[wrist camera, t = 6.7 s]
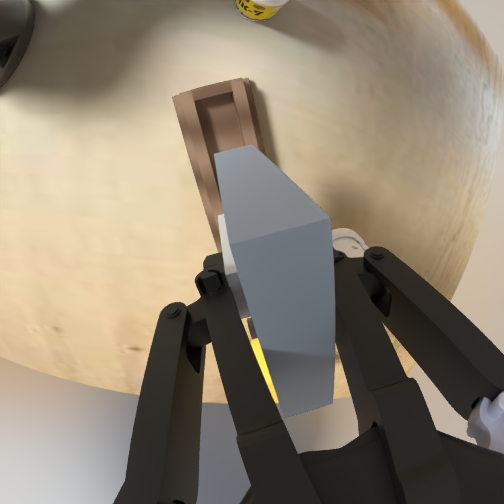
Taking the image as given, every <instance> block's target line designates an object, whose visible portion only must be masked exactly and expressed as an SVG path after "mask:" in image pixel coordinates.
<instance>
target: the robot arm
mask: <svg viewBox="0 0 504 504" xmlns="http://www.w3.org/2000/svg"><path fill="white" fill-rule="evenodd" d="M33 26H34V8H33V5H32V3H31V2H30V1H29V0H0V87H1V86H2V85H3V84H4V83H5V82H6V81H7V80H8V78H9V77H10V76H11V75H12V73H13V72H14V70H15V69H16V67H17V65H18V64H19V62H20V60H21V58H22V57H23V55H24V52H25V50H26V48H27V46H28V43H29V40H30V37H31V34H32V30H33ZM218 222H219V230H220V238H221V246H222V252H220V253H216V254H213V255H209V256H207V257H206V258H205V260H204V262H203V268H204V270H203V271H201V272H200V273H199V274H198V275H197V276H196V278H195V284H196V286H197V288H198V291H199V293H200V295H201V297H200V299H198V300H197V301H196V302H194V303H192V304H190V305H188V306H186V305H185V304H184V303H181V302H174V303H171V304H169V305H167V306H166V307H165V308H164V309H163V310H162V311H161V313H160V315H159V319H158V322H157V326H156V330H155V334H154V337H153V341H152V345H151V349H150V353H149V357H148V361H147V366H146V370H145V374H144V378H143V383H142V387H141V392H140V397H139V402H138V406H137V411H136V417H135V422H134V427H133V433H132V438H131V444H130V451H129V457H128V464H127V471H126V478H125V482H124V484H123V486H122V487H121V489H120V491H119V493H118V495H117V497H116V499H115V501H114V503H113V504H196V501H197V496H198V479H199V450H200V427H201V410H202V394H203V380H204V366H205V354H206V345H207V344H209V343H211V342H212V346H213V350H214V354H215V357H216V361H217V365H218V369H219V372H220V376H221V380H222V383H223V387H224V391H225V394H226V398H227V401H228V404H229V408H230V411H231V414H232V418H233V421H234V424H235V427H236V431H237V444H238V448H239V451H240V454H241V457H242V460H243V463H244V466H245V469H246V472H247V474H248V478H249V480H250V483H251V487H250V488H249V489H248V491H247V493H246V494H245V496H244V498H243V499H242V501H241V503H240V504H504V354H503V353H502V352H501V351H500V350H499V349H498V348H497V347H496V346H495V345H494V344H493V343H492V342H491V341H490V340H489V339H488V338H487V337H486V336H485V335H484V334H483V333H482V332H481V331H480V330H479V329H478V328H477V327H476V326H475V325H474V324H473V323H472V322H471V321H470V320H469V319H468V318H467V317H466V316H465V315H464V314H463V313H461V312H460V311H459V310H458V309H457V308H456V307H455V306H454V305H453V304H452V303H451V302H450V301H448V300H447V299H446V298H445V297H444V296H443V295H442V294H441V293H439V292H438V291H437V290H436V289H435V288H434V287H432V286H431V285H430V284H429V283H428V282H427V281H425V280H424V279H423V278H422V277H421V276H420V275H418V274H417V273H416V272H415V271H413V270H412V269H411V268H410V267H409V266H407V265H406V264H405V263H404V262H402V261H401V260H400V259H399V258H397V257H396V256H395V255H394V254H392V253H391V252H390V251H389V250H387V249H385V248H383V247H371V248H368V249H366V250H365V252H364V257H355V258H350V257H347V255H346V254H345V253H344V252H342V251H338V250H335V249H334V247H333V258H334V281H335V342H336V345H337V349H338V352H339V355H340V359H341V362H342V365H343V369H344V372H345V375H346V379H347V382H348V386H349V390H350V393H351V397H352V400H353V404H354V407H355V411H356V415H357V419H358V431H359V436H358V437H357V438H356V439H354V440H353V441H351V442H350V443H348V444H347V445H345V446H343V447H342V448H339V449H332V450H321V451H308V452H303V453H301V454H298V453H297V451H296V449H295V446H294V444H293V442H292V440H291V437H290V435H289V433H288V431H287V428H286V426H285V424H284V422H283V420H282V418H281V416H280V413H279V411H278V409H277V407H276V404H275V402H274V399H273V397H272V395H271V392H270V390H269V387H268V385H267V383H266V380H265V378H264V375H263V373H262V371H261V368H260V366H259V363H258V361H257V358H256V356H255V353H254V351H253V348H252V346H251V343H250V341H249V338H248V336H247V333H246V331H245V328H244V326H243V323H242V320H241V319H243V318H246V317H250V316H251V314H250V311H249V308H248V305H247V301H246V298H245V295H244V292H243V289H242V285H241V282H240V279H239V275H238V272H237V269H236V265H235V262H234V259H233V255H232V252H231V249H230V245H229V240H228V235H227V229H226V224H225V218H224V214H221V215H218ZM382 322H383V323H384V325H385V326H386V327H387V328H388V329H389V330H390V331H391V333H392V334H393V335H394V336H395V337H396V338H397V340H398V341H399V342H400V343H401V344H402V346H403V347H404V348H405V349H406V350H407V351H408V353H409V354H410V355H411V356H412V357H413V359H414V360H415V361H416V362H417V363H418V365H419V366H420V367H421V368H422V370H423V371H424V372H425V373H426V375H427V376H428V377H429V378H430V379H431V381H432V382H433V383H434V385H435V386H436V387H437V388H438V390H439V391H440V392H441V393H442V395H443V396H444V397H445V399H446V400H447V401H448V403H449V404H450V405H451V406H452V407H453V408H454V410H455V411H456V412H457V413H458V414H460V415H461V416H462V417H463V418H464V419H466V420H467V421H468V428H467V434H468V436H469V437H471V438H472V437H473V438H475V439H476V442H477V445H475V444H472V443H469V442H467V441H464V440H461V439H459V438H456V437H453V436H451V435H448V434H445V433H443V432H440V431H438V430H436V428H435V425H434V422H433V420H432V417H431V415H430V412H429V409H428V407H427V404H426V402H425V399H424V397H423V394H422V392H421V390H420V387H419V385H418V383H417V381H416V380H415V379H414V378H408V377H407V375H406V374H405V371H404V369H403V367H402V365H401V362H400V360H399V358H398V356H397V353H396V351H395V349H394V347H393V345H392V342H391V340H390V338H389V336H388V334H387V332H386V330H385V328H384V325H383V323H382Z"/></svg>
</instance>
